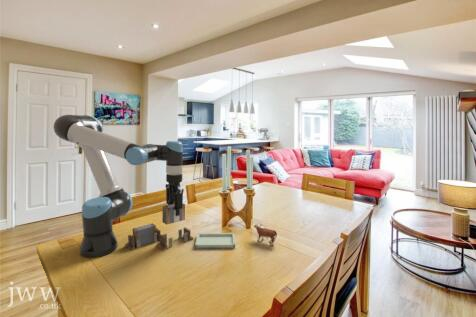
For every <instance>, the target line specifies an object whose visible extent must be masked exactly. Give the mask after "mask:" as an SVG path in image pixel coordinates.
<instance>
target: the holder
mask: <svg viewBox="0 0 476 317" xmlns="http://www.w3.org/2000/svg"><path fill="white" fill-rule="evenodd" d="M160 235H161V230H160V229H159V228H158V227H156V233H155V234H154V242H153V243H158V242H160ZM127 239H128V242H126V243H124V244H125V246H124V247H126V248H127V249H128V250H129V251H133V250H135V249H136V248H137V249H139V248H141V243H140V238H137V239H136V241H137V247H135V246H134V238H133V234H132V235H131V234H128V236H127Z"/></svg>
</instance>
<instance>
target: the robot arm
mask: <svg viewBox="0 0 476 317" xmlns="http://www.w3.org/2000/svg"><path fill="white" fill-rule="evenodd" d="M53 131H54V133H55V135H56V136H57V137H58V138H59V139H62V140H64V141H65V142H69V143H71V144H72V143H73V144H75V145H76V146H78V147H79V148H81V150H82V151H83V154H84V157H85V158H86V160H87V164H88V166H89V168H90V171H91V172H92V176H93V177H94V180H95V182H96V185H97V188H98V190H99V192H100V193H99V196H97V197H95V198H90V199H88V200H86V201H84V203H83V204H82V207H81V218H82V229H83V230H82V231H83V237H82V241H81V244H80V247H79V253H80V256H81V257H83V258H89V259H91V258H92V259H93V258H100V257H103V256H106V255H109V254H111V253H113V252H114V251H116V250H117V248H118V246H119V245H118V240H117V238H116V235H115V233H114V231H113V222H115V220H118V219H119V218H122V217H124V216H126V214H128V213H129V212H130V211H131V210H132V207H133V205H134V202H133V198H132V195H131V194H130V193H128V192H126V191H125V190H124V187H122V186H120V185H119V184H118V181H117V179H116V176H115V175H114V172H113V169H112V167H111V165H110V162H109V160H108V157H107V154H110V155H112V156H115V157H117V158H121V159H124V160H125V161H126V162H128V163H129V165H131V166H141V165H143V164H147V163H150V162H154V161H163V162H164V161H165V162H166V164H165V166H166V167H165V171H166V172H165V173H166V175H165V176H166V177H165V181H166V182H167V183H166V184H165V198H166V199H165V203H166V205H171V204H174V206H175V209H173V210H174V223H173V224H175V223H179V222H180V221H179V215H180V214H179V213H180V209H182V206H183V204H184V202H183V201H184V192H185V191H184V188H181V182H183V167H184V166H183V159H184V158H183V152H184V149H183V142H182V141H179V140H168V141H166V143H165V144H153V143H145V144H143V145H139V144H136V143H134V142H130V141H127V140H125V139H122V138H119V137H116V136H114V135H110V134H108V133H104V132H103V131H104V128H103V124H102V122H101V121H100V120H99V119H98V118H96V117H95V116H90V115H86V114H85V115H84V114H83V115H77V114H64V115H61V116H59V117H58V118H56V120H54V124H53Z"/></svg>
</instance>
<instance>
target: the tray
mask: <svg viewBox="0 0 476 317" xmlns="http://www.w3.org/2000/svg"><path fill="white" fill-rule="evenodd" d="M194 249H195V250H196V249H197V250H198V249H200V250H201V249H207V250H208V249H236V237H235V233H234V232H200V233H197V236H196V239H195V243H194Z"/></svg>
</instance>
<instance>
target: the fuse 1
mask: <svg viewBox="0 0 476 317" xmlns="http://www.w3.org/2000/svg"><path fill="white" fill-rule="evenodd" d="M156 228H157V226H156V224H154V223H153V222H152V223H149V224H143V225H142V226H141V225H140V226H137V227H133V228H132V235H133V238H134V246H135V248H137V241H136V239H137V238H140V243H141V246H145V245H148V244H151V243H154V234H155V233H156Z"/></svg>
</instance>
